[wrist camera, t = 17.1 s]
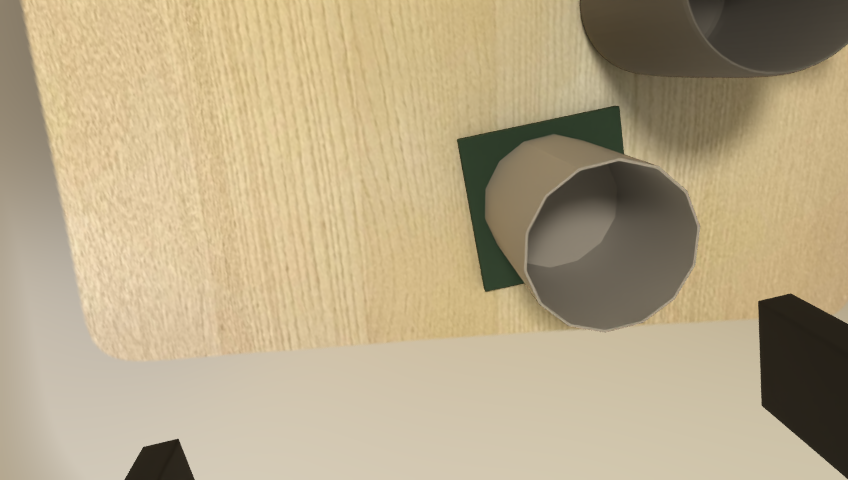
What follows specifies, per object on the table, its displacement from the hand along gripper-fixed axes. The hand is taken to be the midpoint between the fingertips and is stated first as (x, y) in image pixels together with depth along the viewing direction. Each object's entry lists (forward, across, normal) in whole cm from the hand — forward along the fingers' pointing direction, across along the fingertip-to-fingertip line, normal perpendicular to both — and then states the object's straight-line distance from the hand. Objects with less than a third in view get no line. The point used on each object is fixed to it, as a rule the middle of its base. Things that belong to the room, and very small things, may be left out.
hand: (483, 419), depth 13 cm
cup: (+24, +9, -2) cm, 25 cm away
